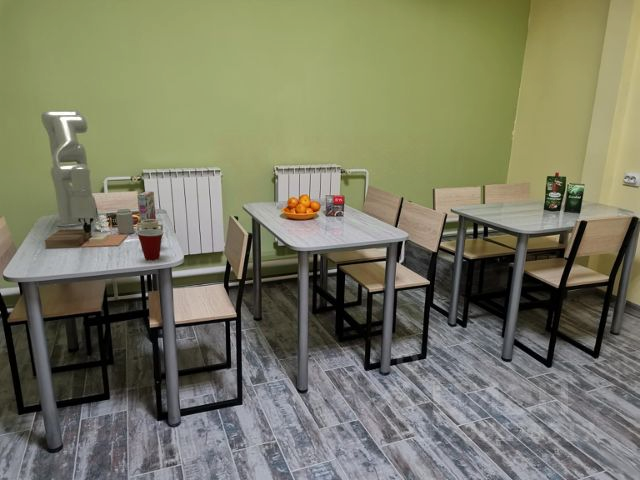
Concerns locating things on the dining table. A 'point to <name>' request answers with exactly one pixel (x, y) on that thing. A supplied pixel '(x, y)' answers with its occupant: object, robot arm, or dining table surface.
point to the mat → (107, 241)
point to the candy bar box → (146, 206)
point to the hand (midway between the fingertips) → (87, 232)
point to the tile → (99, 238)
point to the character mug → (150, 224)
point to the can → (125, 221)
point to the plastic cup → (150, 243)
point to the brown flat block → (67, 238)
